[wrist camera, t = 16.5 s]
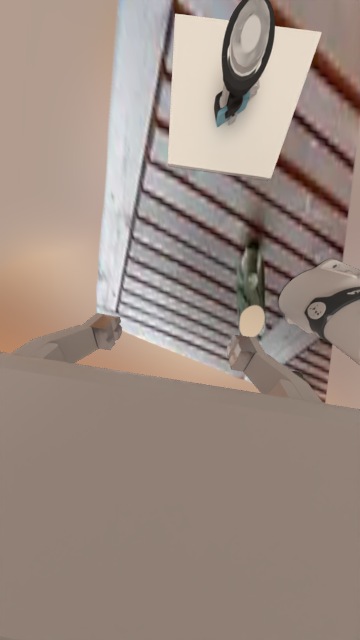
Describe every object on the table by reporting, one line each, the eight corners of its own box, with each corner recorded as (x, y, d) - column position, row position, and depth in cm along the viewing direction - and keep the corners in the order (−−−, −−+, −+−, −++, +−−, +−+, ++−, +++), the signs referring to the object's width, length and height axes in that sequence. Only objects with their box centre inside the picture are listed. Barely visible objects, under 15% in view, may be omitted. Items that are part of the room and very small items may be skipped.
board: (315, 43, 19) (321, 32, 18) (268, 180, 27) (270, 178, 26) (176, 25, 19) (175, 13, 18) (168, 166, 27) (167, 163, 26)
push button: (253, 65, 20) (297, -63, 11) (257, 119, 22) (295, 48, 14) (209, 96, 21) (218, 7, 13) (216, 144, 24) (228, 94, 16)
